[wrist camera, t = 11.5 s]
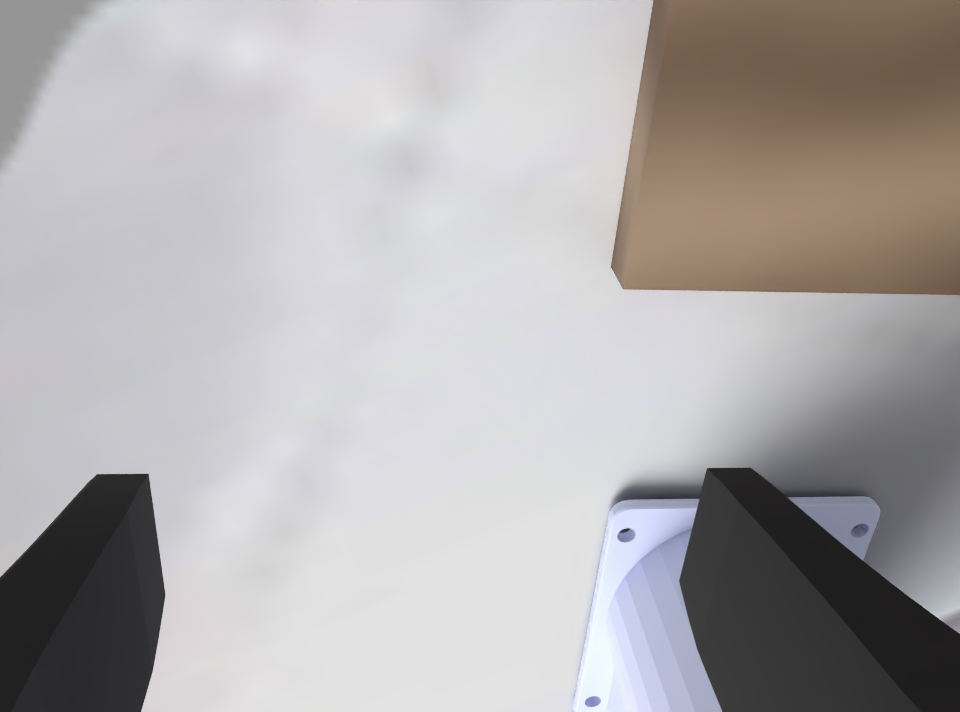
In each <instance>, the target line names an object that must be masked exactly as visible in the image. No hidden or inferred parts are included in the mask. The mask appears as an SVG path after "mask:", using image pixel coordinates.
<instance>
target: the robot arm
mask: <svg viewBox="0 0 960 712" xmlns="http://www.w3.org/2000/svg"><path fill="white" fill-rule="evenodd" d="M880 513H881V510H880V508H879V506H878V505H877V503H876V502H875V501H874V500H873V499H872V498H870V497H866V496H846V497H786V496H785V495H784V494H783V493H781V492H780V491H779V490H778V489H777V488H775V487H774V486H773V485H772V484H771V483H769V482H768V481H767V480H766V479H764V478H763V477H762V476H761V475H759V474H758V473H757V472H755V471H754V470H753V469H751V468H707V471H706V475H705V479H704V483H703V487H702V491H701V495H700V499H641V500H624V501H621V502H619V503H617V504H615V505H614V506H613V507H612V508H611V510H610V512H609V516H608V521H607V527H606V532H605V537H604V543H603V548H602V554H601V559H600V564H599V570H598V575H597V580H596V586H595V591H594V596H593V602H592V607H591V612H590V618H589V623H588V628H587V634H586V639H585V644H584V650H583V655H582V661H581V666H580V671H579V677H578V682H577V687H576V693H575V698H574V703H573V709H572V712H960V634H959V633H958V632H956V631H955V630H953V629H952V628H950V627H949V626H948V625H946V624H945V623H944V622H942V621H941V620H939V619H938V618H937V617H935V616H934V615H933V614H931V613H930V612H929V611H927V610H926V609H925V608H923V607H922V606H920V605H919V604H918V603H916V602H915V601H914V600H912V599H911V598H910V597H908V596H907V595H906V594H904V593H903V592H902V591H900V590H899V589H898V588H897V587H895V586H894V585H893V584H891V583H890V582H889V581H888V580H886V579H885V578H884V577H882V576H881V575H880V574H879V573H877V572H876V571H875V570H874V569H872V568H871V567H870V566H869V565H867V564H866V563H865V562H864V561H863V560H864V557H865V554H866V552H867V549H868V546H869V544H870V541H871V539H872V536H873V533H874V531H875V528H876V526H877V523H878V520H879V518H880ZM859 524H860V525H859ZM857 525H859V526H857ZM855 526H857V527H856V528H854V527H855ZM626 528H630V530H629V531H627V532H624V533H619V532H620V531H621V530H623V529H626ZM164 600H165V589H164V582H163V575H162V568H161V561H160V554H159V546H158V539H157V532H156V525H155V518H154V510H153V503H152V496H151V489H150V482H149V475H148V474H97V475H96V476H95V477H94V478H93V479H92V480H90V481H89V482H88V483H87V484H86V486H85V487H84V488H83V489H82V490H81V491H80V492H79V493H78V494H77V495H76V497H75V498H74V499H73V500H72V501H71V502H70V503H69V504H68V505H67V507H66V508H65V509H64V510H63V511H62V512H61V513H60V514H59V515H58V517H57V518H56V519H55V520H54V521H53V522H52V523H51V524H50V525H49V527H48V528H47V529H46V530H45V531H44V532H43V533H42V534H41V535H40V536H39V537H38V538H37V540H36V541H35V542H34V543H33V544H32V545H31V546H30V547H29V548H28V549H27V550H26V551H25V552H24V554H23V555H22V556H21V557H20V558H19V559H18V560H17V561H16V562H15V563H14V564H13V565H12V566H11V567H10V568H9V569H8V570H7V571H6V572H5V573H4V574H3V575H2V576H1V577H0V712H141V709H142V706H143V702H144V699H145V696H146V692H147V689H148V685H149V682H150V678H151V675H152V671H153V666H154V660H155V655H156V649H157V643H158V638H159V631H160V625H161V619H162V612H163V606H164Z"/></svg>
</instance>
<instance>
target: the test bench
mask: <svg viewBox="0 0 960 712" xmlns="http://www.w3.org/2000/svg"><path fill="white" fill-rule="evenodd" d="M611 268H612V269H613V271H614V273H615V275H616V277H617V279H618V281H619V282H620V284H621V286H622V288H623V289H639V290H699V291H760V292H820V293H881V294H941V295H960V0H654V2H653V8H652V14H651V20H650V27H649V33H648V39H647V45H646V52H645V58H644V64H643V70H642V77H641V83H640V89H639V95H638V102H637V108H636V114H635V120H634V127H633V133H632V139H631V145H630V152H629V158H628V164H627V170H626V177H625V183H624V189H623V195H622V202H621V208H620V214H619V220H618V227H617V233H616V239H615V245H614V252H613V258H612V264H611Z"/></svg>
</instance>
